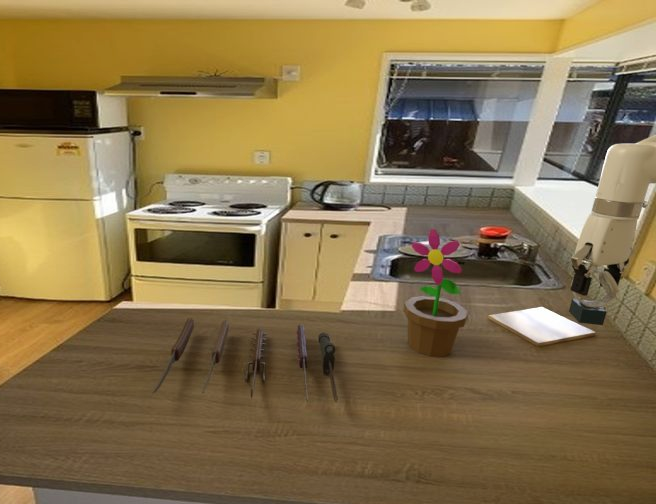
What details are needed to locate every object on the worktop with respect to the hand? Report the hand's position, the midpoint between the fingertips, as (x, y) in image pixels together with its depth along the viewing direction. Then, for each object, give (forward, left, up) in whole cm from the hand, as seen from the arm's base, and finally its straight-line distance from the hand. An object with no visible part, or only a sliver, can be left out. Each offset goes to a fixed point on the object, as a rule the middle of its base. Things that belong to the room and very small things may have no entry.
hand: (593, 290), depth 89 cm
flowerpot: (+24, -18, -20) cm, 36 cm away
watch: (0, 0, -7) cm, 7 cm away
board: (-12, -18, -20) cm, 30 cm away
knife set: (+69, -19, -20) cm, 74 cm away
